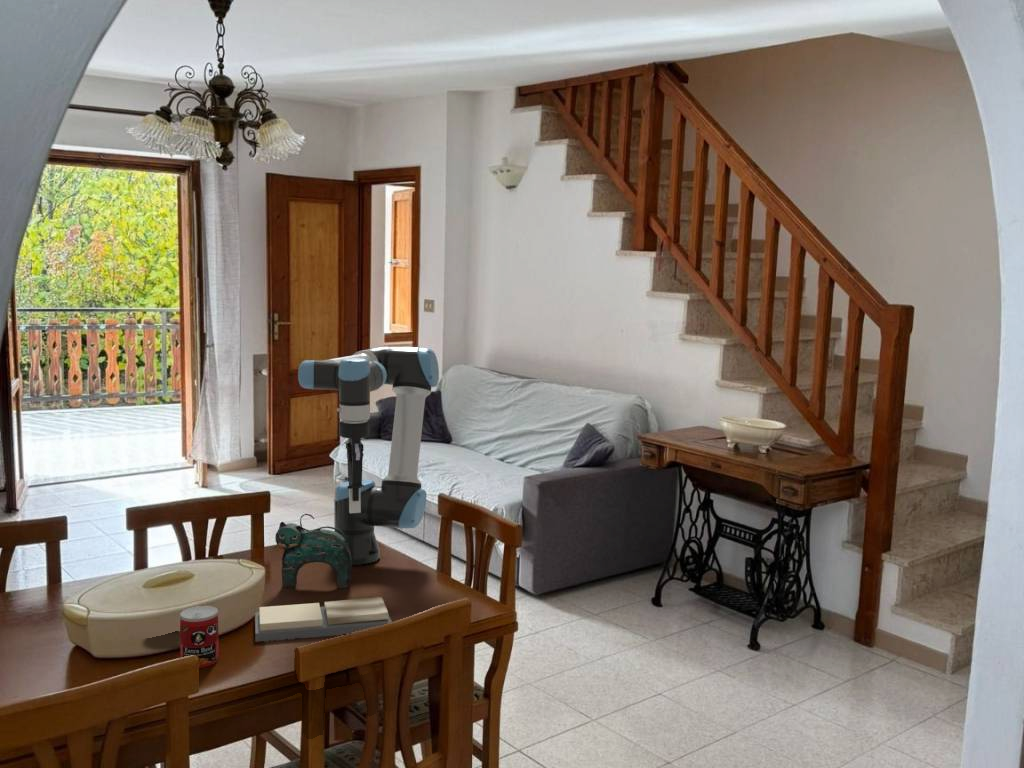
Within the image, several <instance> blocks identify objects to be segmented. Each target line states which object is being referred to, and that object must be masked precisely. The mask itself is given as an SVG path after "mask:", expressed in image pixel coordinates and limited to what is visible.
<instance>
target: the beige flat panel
mask: <svg viewBox="0 0 1024 768" xmlns="http://www.w3.org/2000/svg"><path fill="white" fill-rule="evenodd" d="M323 607H324V608H325V613H326V617H327V622H328V625H332V624H343V623H353V622H363V621H374V620H384V619H388V614H389V611H388V609H387V606H386V604H385V601H384V599H383V596H377V597H375V596H374V597H367V598H365V597H364V598H356V599H343V600H341V599H340V600H331V601H324V605H323Z"/></svg>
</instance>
